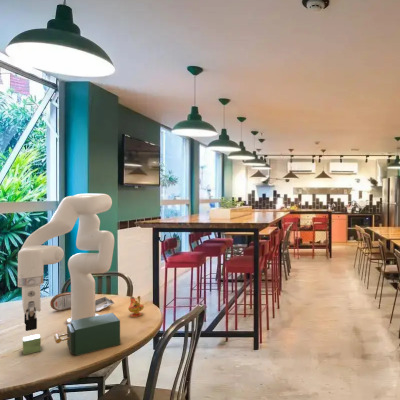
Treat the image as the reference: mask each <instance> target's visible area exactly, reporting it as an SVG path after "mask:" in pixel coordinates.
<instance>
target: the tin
mask: <svg viewBox="0 0 400 400" xmlns="http://www.w3.org/2000/svg"><path fill="white" fill-rule="evenodd" d="M49 306H50V307H51V308H52V309H53V310H54V311H57V312H58V311H59V312H61V311H65V310H71V291H67V292H62V293H58V294H56V295H54V296H53V297H52V298H51V300H50V304H49Z"/></svg>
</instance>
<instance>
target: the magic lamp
mask: <svg viewBox="0 0 400 400" xmlns="http://www.w3.org/2000/svg"><path fill="white" fill-rule="evenodd" d="M129 298H130V300H129V301H130V305H129V306H128V311H129V312H130V313H132V314H130V318H137V317H141V316H142V315H143V314H142V313H140V312H141V311H143V310H144V308H145V305H144V304H142V303H141V296H140V295H138V296H137V300H136V299H135V297H134V296H131V297H129Z"/></svg>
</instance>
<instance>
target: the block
mask: <svg viewBox="0 0 400 400" xmlns="http://www.w3.org/2000/svg"><path fill="white" fill-rule="evenodd" d="M41 341H42V339H41V334H40V333H37V334H33V335H29V336H23V337H22V354H23V356H25V355H30V354H33V353H38V352H41V351H42V349H41V348H42V344H41Z"/></svg>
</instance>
